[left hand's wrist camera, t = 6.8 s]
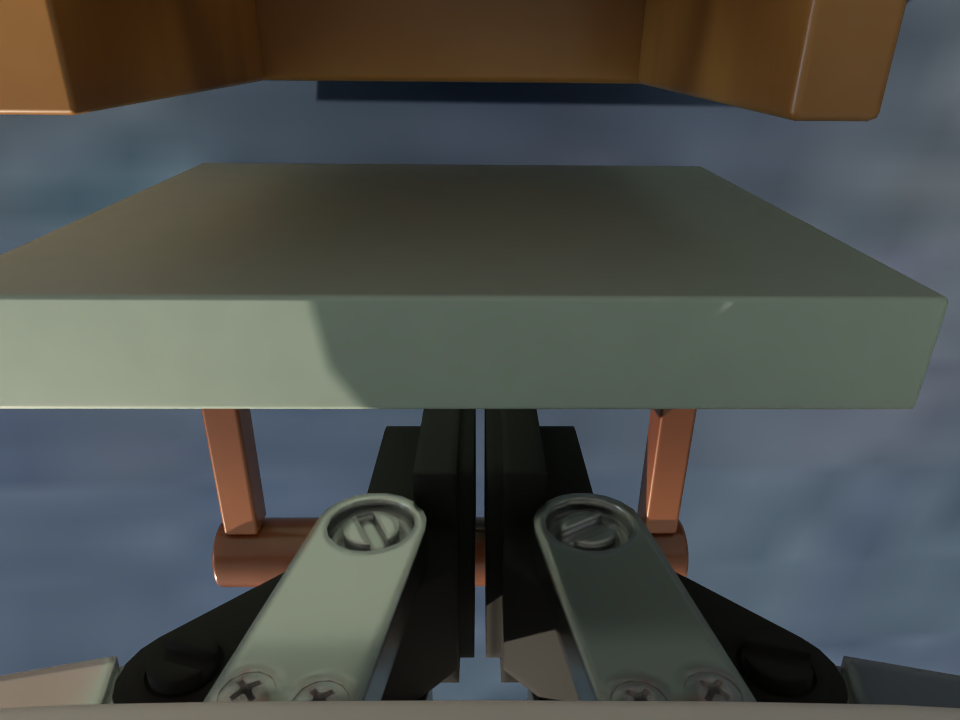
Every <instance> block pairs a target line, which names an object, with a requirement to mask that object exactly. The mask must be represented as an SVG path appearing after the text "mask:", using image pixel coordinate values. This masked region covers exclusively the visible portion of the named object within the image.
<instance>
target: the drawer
mask: <svg viewBox="0 0 960 720" xmlns="http://www.w3.org/2000/svg"><path fill="white" fill-rule="evenodd" d="M906 2H907V0H0V114H35V115H75V114H81V113H86V112H92V111H97V110H103V109H108V108H114V107H119V106H125V105H130V104H136V103H141V102H147V101H152V100H158V99H163V98H169V97H174V96H180V95H185V94H191V93H196V92H202V91H207V90H213V89H218V88H224V87H229V86H235V85H240V84H246V83H251V82H257V81H262V80H294V81H399V82H504V83H609V84H643V85H647V86H651V87H655V88H659V89H664V90H668V91H672V92H676V93H681V94H685V95H689V96H693V97H697V98H702V99H706V100H710V101H714V102H718V103H723V104H727V105H731V106H735V107H739V108H744V109H748V110H752V111H756V112H760V113H765V114H769V115H773V116H777V117H781V118H786V119H790V120H794V121H869V120H872V119H874V118H876V117H877V116H878V114H879V112H880V108H881V104H882V100H883V96H884V92H885V88H886V83H887V79H888V75H889V71H890V67H891V63H892V59H893V55H894V51H895V47H896V43H897V39H898V34H899V30H900V26H901V22H902V18H903V14H904V10H905V6H906ZM947 305H948V299H947V297H945V296H943V295H941V294H939V293H937V292H935V291H933V290H931V289H930V288H928V287H926V286H924V285H922V284H920V283H918V282H916V281H915V280H913V279H911V278H909V277H907V276H905V275H903V274H901V273H900V272H898V271H896V270H894V269H892V268H890V267H888V266H886V265H884V264H883V263H881V262H879V261H877V260H875V259H873V258H871V257H869V256H868V255H866V254H864V253H862V252H860V251H858V250H856V249H854V248H853V247H851V246H849V245H847V244H845V243H843V242H841V241H839V240H837V239H836V238H834V237H832V236H830V235H828V234H826V233H824V232H822V231H821V230H819V229H817V228H815V227H813V226H811V225H809V224H807V223H806V222H804V221H802V220H800V219H798V218H796V217H794V216H792V215H791V214H789V213H787V212H785V211H783V210H781V209H779V208H777V207H775V206H774V205H772V204H770V203H768V202H766V201H764V200H762V199H760V198H759V197H757V196H755V195H753V194H751V193H749V192H747V191H745V190H744V189H742V188H740V187H738V186H736V185H734V184H732V183H730V182H728V181H727V180H725V179H723V178H721V177H719V176H717V175H715V174H713V173H712V172H710V171H708V170H706V169H704V168H702V167H696V166H559V165H421V164H284V163H203V164H200V165H198V166H196V167H194V168H192V169H189V170H187V171H185V172H183V173H181V174H178V175H176V176H174V177H172V178H170V179H167V180H165V181H163V182H161V183H159V184H156V185H154V186H152V187H150V188H148V189H145V190H143V191H141V192H139V193H137V194H134V195H132V196H130V197H128V198H126V199H123V200H121V201H119V202H117V203H115V204H112V205H110V206H108V207H106V208H104V209H101V210H99V211H97V212H95V213H92V214H90V215H88V216H86V217H84V218H81V219H79V220H77V221H75V222H73V223H70V224H68V225H66V226H64V227H62V228H59V229H57V230H55V231H53V232H51V233H48V234H46V235H44V236H42V237H40V238H37V239H35V240H33V241H31V242H29V243H26V244H24V245H22V246H20V247H18V248H15V249H13V250H11V251H9V252H7V253H4V254H2V255H0V409H201V410H202V415H203V420H204V426H205V431H206V436H207V441H208V447H209V452H210V457H211V463H212V468H213V473H214V479H215V484H216V489H217V494H218V500H219V505H220V510H221V516H222V521H223V522H222V523H221V525H220V526H219V529H218V531H217V534H216V537H215V541H214V546H213V555H212V566H213V574H214V578H215V581H216V583H217V584H218V585H219V586H222V587H257V586H259V585H261V584H263V583H265V582H266V581H268V580H270V579H272V578H274V577H276V576H278V575H280V574H282V573H284V572H285V571H286V569H287V568H288V566H289V564H290V563H291V561H292V560H293V558H294V557H295V555H296V553H297V552H298V550H299V549H300V547H301V545H302V544H303V542H304V541H305V539H306V537H307V536H308V534H309V533H310V531H311V530H312V528H313V526H314V525H315V523H316V522H317V520H318V519H319V518H265V515H266V511H265V504H264V498H263V491H262V485H261V478H260V472H259V465H258V459H257V452H256V446H255V439H254V433H253V426H252V420H251V413H250V409H651V414H650V422H649V429H648V437H647V444H646V452H645V459H644V467H643V474H642V482H641V489H640V497H639V504H638V512H637V514H638V515H639V516H640V517H641V519H642V520H643V522H644V523H645V525H646V526H647V528H648V530H649V531H650V533H651V534H652V536H653V538H654V539H655V541H656V542H657V544H658V545H659V547H660V549H661V550H662V552H663V553H664V555H665V557H666V558H667V560H668V561H669V563H670V564H671V566H672V568H673V569H674V571H675V572H677V573H679V574H680V575H682V576H684V577H686V576H687V571H688V545H687V539H686V535H685V532H684V528H683V526H682V524H681V522H680V520H679V513H680V507H681V501H682V495H683V489H684V483H685V477H686V471H687V464H688V458H689V452H690V446H691V440H692V434H693V428H694V422H695V416H696V410H697V409H912V408H914V406H915V405H916V402H917V399H918V396H919V392H920V389H921V386H922V383H923V380H924V377H925V374H926V371H927V368H928V364H929V361H930V358H931V355H932V352H933V349H934V346H935V343H936V340H937V336H938V333H939V330H940V327H941V324H942V321H943V318H944V315H945V312H946V308H947ZM475 586H485V517H476V537H475Z"/></svg>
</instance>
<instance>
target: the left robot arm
mask: <svg viewBox="0 0 960 720" xmlns="http://www.w3.org/2000/svg"><path fill="white" fill-rule="evenodd" d="M484 505H485V607H486V657H500V662H501V682H520V683H521V684H523V685H524V686H525V687H526V688H528V694H527V701H517V700H443V701H433V694H432V689H433V688H434V687H435V686H437V685H438V684H439V683H440V682H459V669H460V657H474V630H475V537H476V409H424V412H423V417H422V423H421V426H387V427H386V429H385V432H384V435H383V439H382V443H381V446H380V450H379V453H378V457H377V461H376V464H375V468H374V471H373V475H372V479H371V482H370V486H369V489H368V493H367V494H363V495H358V496H353V497H350V498H348V499H345V500H342V501H339V502H338V503H336V504H335V505H333V506H331V507H330V508H328V509H327V510H326V511H325V512H324V513H323V514H322V515H321V516H320V517H319V519H318V520H317V522H316V523H315V525H314V526H313V528H312V530H311V531H310V533H309V534H308V536H307V537H306V539H305V541H304V542H303V544H302V545H301V547H300V549H299V550H298V552H297V553H296V555H295V557H294V558H293V560H292V561H291V563H290V564H289V566H288V568H287V569H286V571H285V572H284V573H282V574H280V575H278V576H276V577H274V578H272V579H270V580H268V581H266V582H265V583H263V584H261V585H259V586H257V587H255V588H253V589H251V590H249V591H247V592H245V593H244V594H242V595H240V596H238V597H236V598H234V599H232V600H230V601H228V602H226V603H224V604H223V605H221V606H219V607H217V608H215V609H213V610H211V611H209V612H207V613H205V614H203V615H201V616H200V617H198V618H196V619H194V620H192V621H190V622H188V623H186V624H184V625H182V626H180V627H179V628H177V629H175V630H173V631H171V632H169V633H167V634H165V635H163V636H161V637H159V638H158V639H156V640H155V641H153V642H152V643H150V644H149V645H147V646H145V647H144V648H142V649H141V650H140V651H139V652H138V653H137V654H136V655H135V656H134V657H133V658H132V659H131V660H130V661H129V662H128V663H126V665H125V666H120V667H119V664H118V660H117V656H113V657H107V658H101V659H95V660H89V661H83V662H78V663H72V664H66V665H60V666H54V667H49V668H43V669H37V670H31V671H25V672H19V673H14V674H8V675H2V676H0V720H960V676H958V675H952V674H946V673H941V672H935V671H929V670H923V669H917V668H912V667H906V666H900V665H894V664H888V663H883V662H877V661H871V660H865V659H859V658H853V657H848V656H844V657H843V661H842V664H841V667H840V666H835V664H834V663H833V662H832V661H831V660H830V659H829V658H828V657H827V656H825V655H824V654H823V653H822V652H821V651H820V650H819V649H818V648H816V647H815V646H813V645H812V644H810V643H809V642H807V641H805V640H804V639H802V638H801V637H799V636H797V635H795V634H793V633H791V632H789V631H787V630H786V629H784V628H782V627H780V626H778V625H776V624H774V623H772V622H770V621H768V620H766V619H764V618H763V617H761V616H759V615H757V614H755V613H753V612H751V611H749V610H747V609H745V608H743V607H742V606H740V605H738V604H736V603H734V602H732V601H730V600H728V599H726V598H724V597H722V596H721V595H719V594H717V593H715V592H713V591H711V590H709V589H707V588H705V587H703V586H701V585H700V584H698V583H696V582H694V581H692V580H690V579H688V578H686V577H684V576H682V575H680V574H679V573H677V572H675V571H674V569H673V568H672V566H671V564H670V563H669V561H668V560H667V558H666V557H665V555H664V553H663V552H662V550H661V549H660V547H659V545H658V544H657V542H656V541H655V539H654V538H653V536H652V534H651V533H650V531H649V530H648V528H647V526H646V525H645V523H644V522H643V520H642V519H641V517H640V516H639V515H638V514H637V513H636V512H635V511H634V510H633V509H632V508H630V507H629V506H627V505H625V504H624V503H622V502H621V501H618V500H615V499H612V498H610V497H607V496H602V495H597V494H593V492H592V488H591V485H590V481H589V478H588V474H587V470H586V467H585V463H584V460H583V456H582V452H581V449H580V445H579V442H578V438H577V434H576V431H575V428H574V426H539V422H538V416H537V410H536V409H485V494H484Z"/></svg>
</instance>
